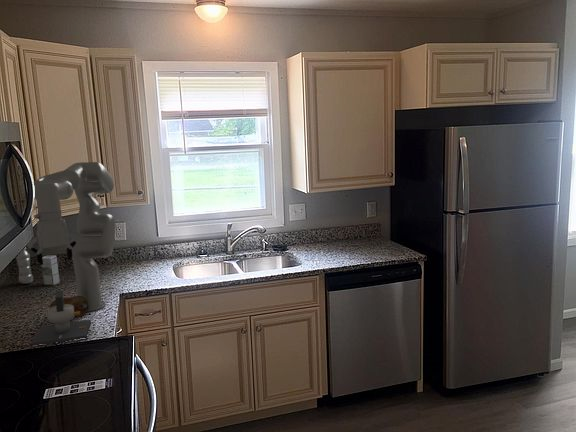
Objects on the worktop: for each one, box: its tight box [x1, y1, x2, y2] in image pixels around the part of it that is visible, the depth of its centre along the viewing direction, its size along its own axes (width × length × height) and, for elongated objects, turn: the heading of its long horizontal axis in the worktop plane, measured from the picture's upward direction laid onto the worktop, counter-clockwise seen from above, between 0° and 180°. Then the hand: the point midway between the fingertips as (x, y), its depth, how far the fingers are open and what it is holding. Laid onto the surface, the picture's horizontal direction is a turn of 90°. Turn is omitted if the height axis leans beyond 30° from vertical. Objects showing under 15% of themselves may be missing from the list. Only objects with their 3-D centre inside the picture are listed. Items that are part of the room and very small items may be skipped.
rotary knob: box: [46, 290, 80, 324], centre depth 185 cm, size 11×9×10 cm
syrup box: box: [40, 255, 60, 286], centre depth 253 cm, size 6×6×14 cm
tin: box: [48, 295, 89, 318], centre depth 204 cm, size 15×3×8 cm, turn 106°
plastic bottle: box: [15, 246, 34, 285], centre depth 255 cm, size 6×7×20 cm
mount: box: [32, 319, 92, 346], centre depth 186 cm, size 17×18×6 cm
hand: (55, 261), depth 182 cm, fingers open, 9 cm apart
